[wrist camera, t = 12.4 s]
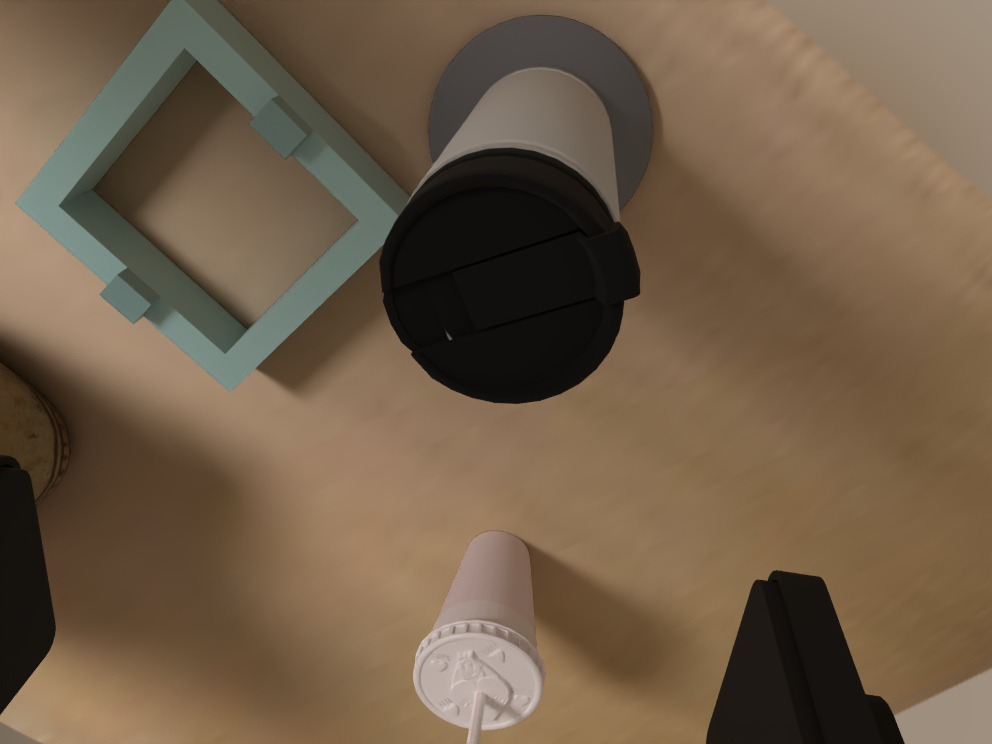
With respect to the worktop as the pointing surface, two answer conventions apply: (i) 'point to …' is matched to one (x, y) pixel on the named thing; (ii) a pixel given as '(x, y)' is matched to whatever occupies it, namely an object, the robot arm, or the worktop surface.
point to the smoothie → (484, 641)
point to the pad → (557, 47)
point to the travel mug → (515, 245)
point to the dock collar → (278, 120)
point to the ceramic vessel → (32, 433)
